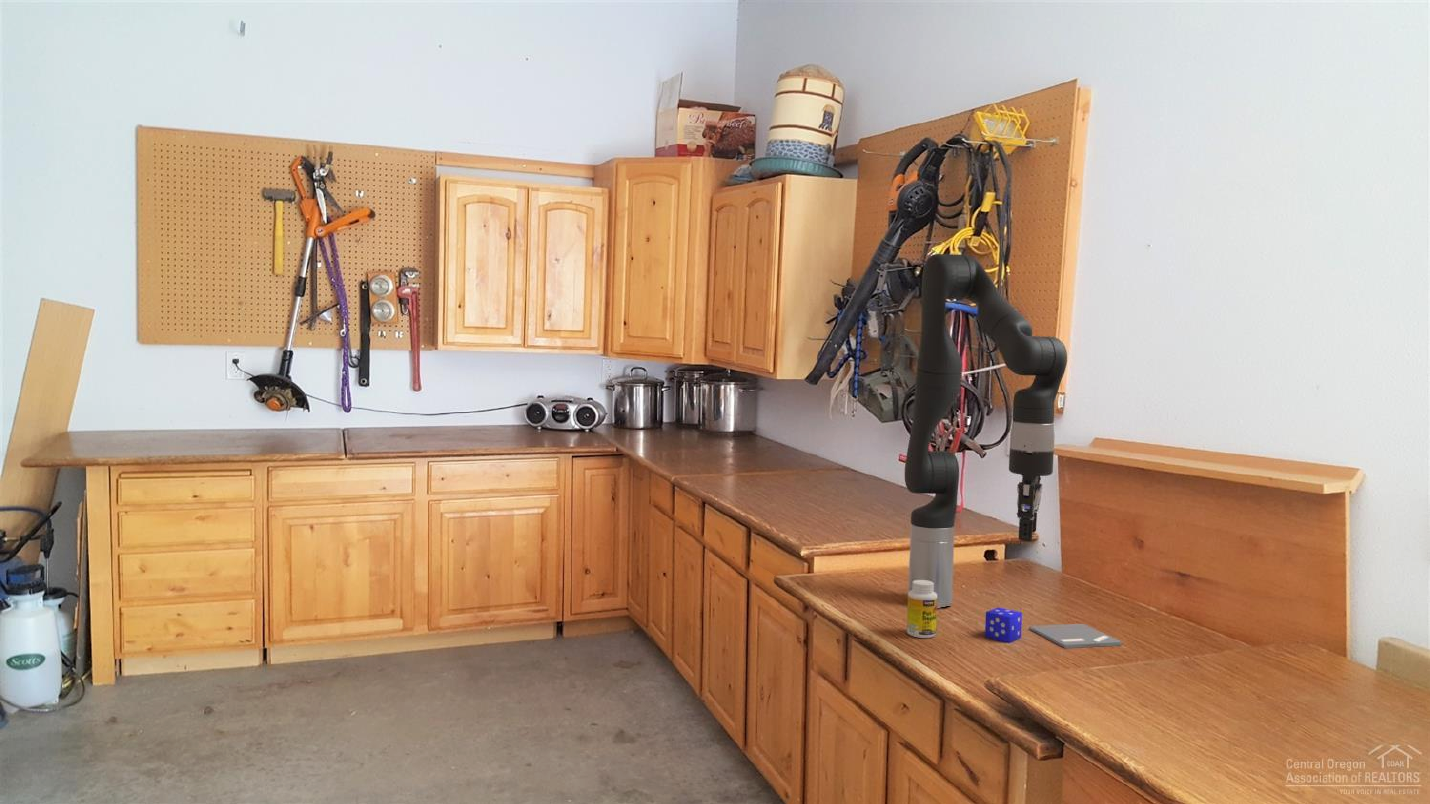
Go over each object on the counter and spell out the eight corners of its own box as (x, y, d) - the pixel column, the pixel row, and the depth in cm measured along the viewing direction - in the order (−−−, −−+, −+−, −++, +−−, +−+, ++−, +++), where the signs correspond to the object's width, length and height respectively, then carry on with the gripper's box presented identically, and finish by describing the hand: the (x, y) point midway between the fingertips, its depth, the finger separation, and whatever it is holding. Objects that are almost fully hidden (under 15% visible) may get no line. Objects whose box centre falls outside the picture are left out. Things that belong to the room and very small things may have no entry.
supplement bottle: (921, 641, 170) (923, 587, 170) (900, 633, 175) (902, 580, 174) (942, 636, 173) (944, 583, 173) (920, 629, 178) (922, 577, 177)
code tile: (1029, 629, 179) (1029, 625, 179) (1082, 626, 181) (1083, 623, 181) (1065, 648, 167) (1065, 644, 167) (1122, 645, 170) (1122, 641, 170)
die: (997, 632, 177) (998, 607, 177) (1021, 638, 173) (1022, 612, 173) (984, 637, 173) (985, 611, 173) (1009, 643, 170) (1010, 617, 169)
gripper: (1014, 442, 171) (1010, 527, 172) (1005, 449, 158) (1001, 541, 159) (1056, 445, 168) (1052, 531, 169) (1051, 453, 155) (1046, 546, 156)
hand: (1027, 536), depth 164 cm, fingers open, 8 cm apart
